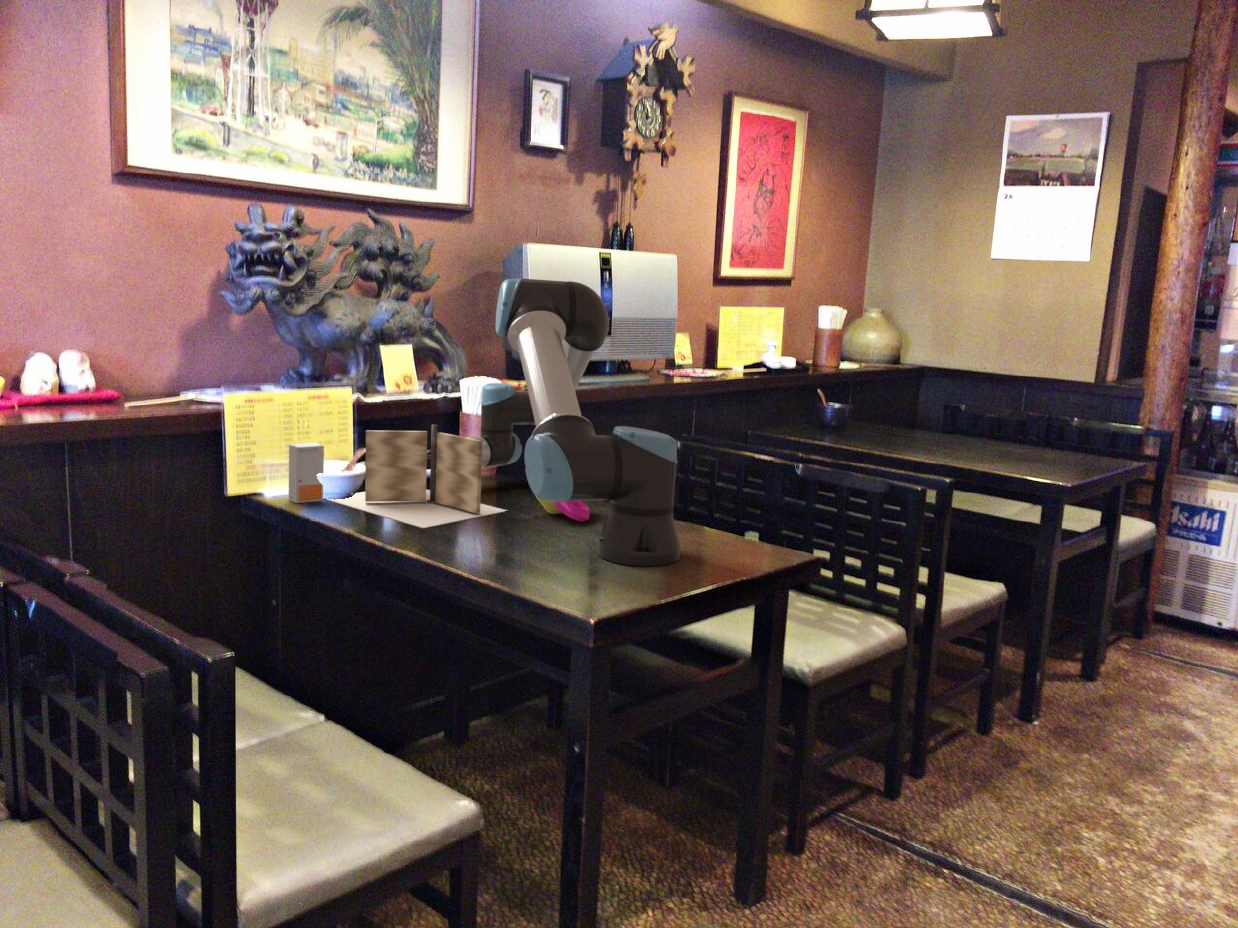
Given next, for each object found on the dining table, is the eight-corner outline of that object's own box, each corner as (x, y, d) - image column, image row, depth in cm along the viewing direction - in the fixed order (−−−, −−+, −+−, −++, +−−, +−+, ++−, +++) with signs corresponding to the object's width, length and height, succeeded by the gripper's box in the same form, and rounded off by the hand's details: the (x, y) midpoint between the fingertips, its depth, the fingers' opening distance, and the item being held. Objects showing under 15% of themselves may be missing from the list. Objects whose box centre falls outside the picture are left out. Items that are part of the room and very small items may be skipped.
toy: (548, 529, 202) (575, 487, 200) (515, 486, 216) (540, 446, 214) (584, 543, 208) (611, 502, 206) (550, 500, 222) (575, 462, 220)
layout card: (507, 511, 211) (507, 509, 211) (423, 528, 194) (423, 527, 193) (408, 485, 231) (408, 484, 231) (323, 499, 213) (323, 497, 213)
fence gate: (425, 500, 215) (426, 431, 212) (425, 501, 214) (427, 431, 211) (365, 500, 211) (366, 430, 208) (365, 501, 210) (366, 431, 207)
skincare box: (296, 504, 207) (296, 447, 205) (288, 500, 210) (288, 443, 208) (324, 501, 211) (324, 445, 209) (315, 497, 214) (316, 442, 212)
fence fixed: (482, 514, 207) (485, 433, 204) (473, 516, 205) (476, 434, 202) (433, 501, 216) (435, 423, 213) (423, 503, 214) (425, 424, 211)
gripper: (484, 475, 226) (402, 488, 208) (445, 465, 234) (363, 477, 216) (485, 442, 225) (402, 452, 207) (446, 434, 233) (363, 443, 215)
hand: (382, 465), depth 211 cm, fingers closed
